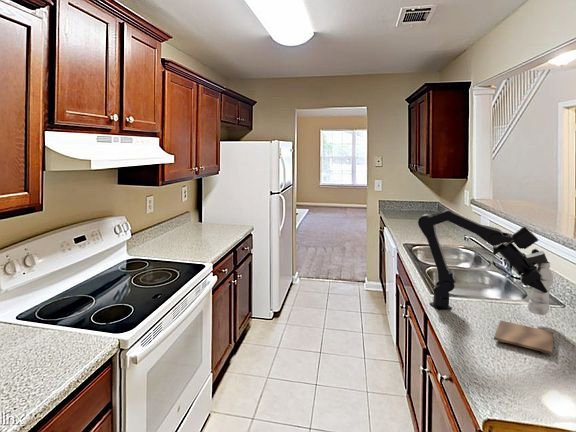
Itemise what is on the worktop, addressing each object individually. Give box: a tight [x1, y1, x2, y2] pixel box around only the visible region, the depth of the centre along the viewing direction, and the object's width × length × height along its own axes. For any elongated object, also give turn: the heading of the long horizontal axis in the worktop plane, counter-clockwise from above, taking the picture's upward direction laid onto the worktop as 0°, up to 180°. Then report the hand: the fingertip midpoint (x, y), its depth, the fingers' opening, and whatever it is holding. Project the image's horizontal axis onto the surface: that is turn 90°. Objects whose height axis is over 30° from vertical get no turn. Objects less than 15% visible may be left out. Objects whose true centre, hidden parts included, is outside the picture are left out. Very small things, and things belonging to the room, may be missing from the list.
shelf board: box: [493, 320, 554, 355], centre depth 128 cm, size 16×16×2 cm
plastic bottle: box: [527, 260, 554, 316], centre depth 139 cm, size 6×7×20 cm
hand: (545, 289), depth 139 cm, fingers closed on plastic bottle, 6 cm apart
